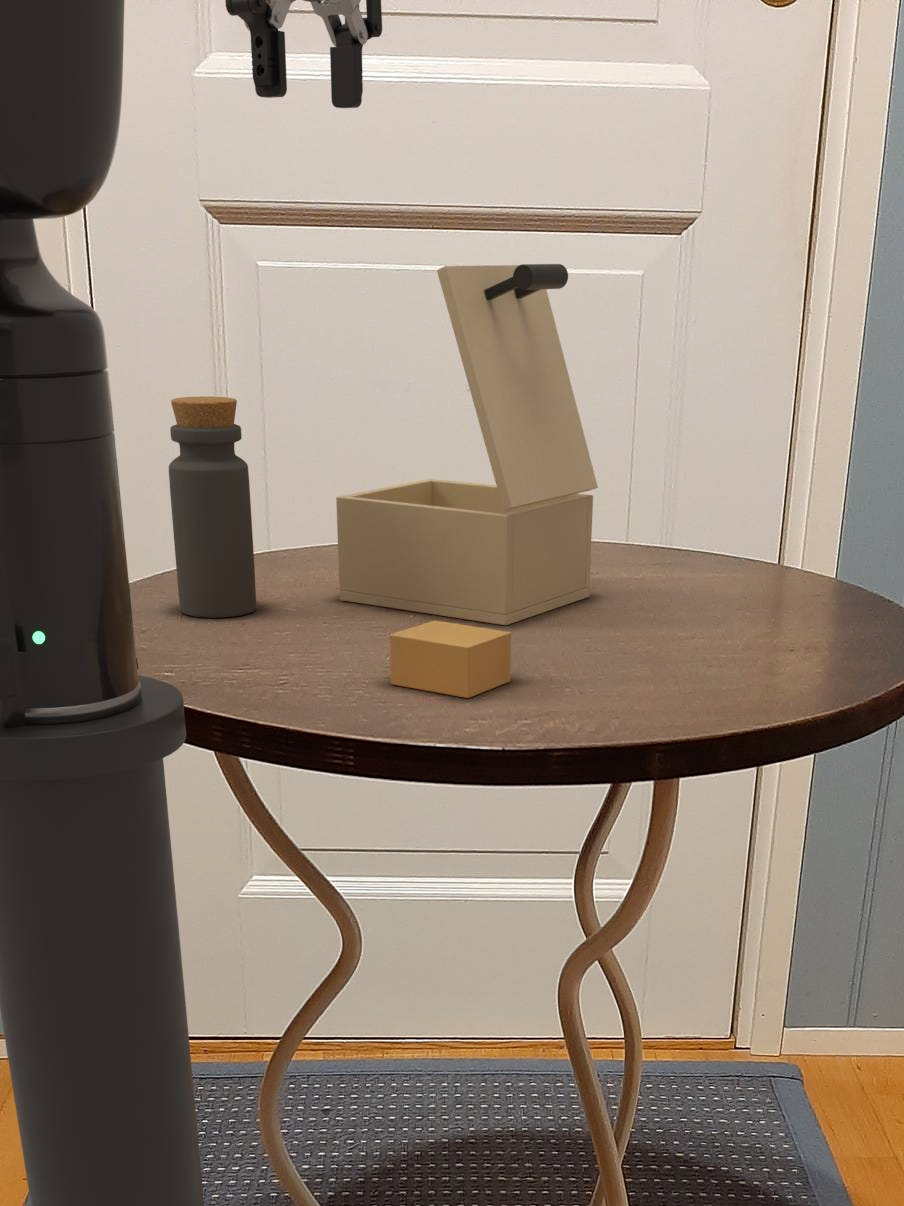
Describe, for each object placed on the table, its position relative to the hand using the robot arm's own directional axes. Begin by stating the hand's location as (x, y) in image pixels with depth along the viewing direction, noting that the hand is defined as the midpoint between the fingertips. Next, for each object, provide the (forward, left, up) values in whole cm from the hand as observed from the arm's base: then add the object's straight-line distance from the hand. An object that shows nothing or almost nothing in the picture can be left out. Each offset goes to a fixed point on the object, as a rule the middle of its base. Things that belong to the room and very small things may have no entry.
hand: (310, 102), depth 106 cm
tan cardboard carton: (-11, -27, -34) cm, 45 cm away
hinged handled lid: (+8, -13, -18) cm, 24 cm away
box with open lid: (+7, -8, -34) cm, 36 cm away
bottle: (-10, +1, -34) cm, 35 cm away
